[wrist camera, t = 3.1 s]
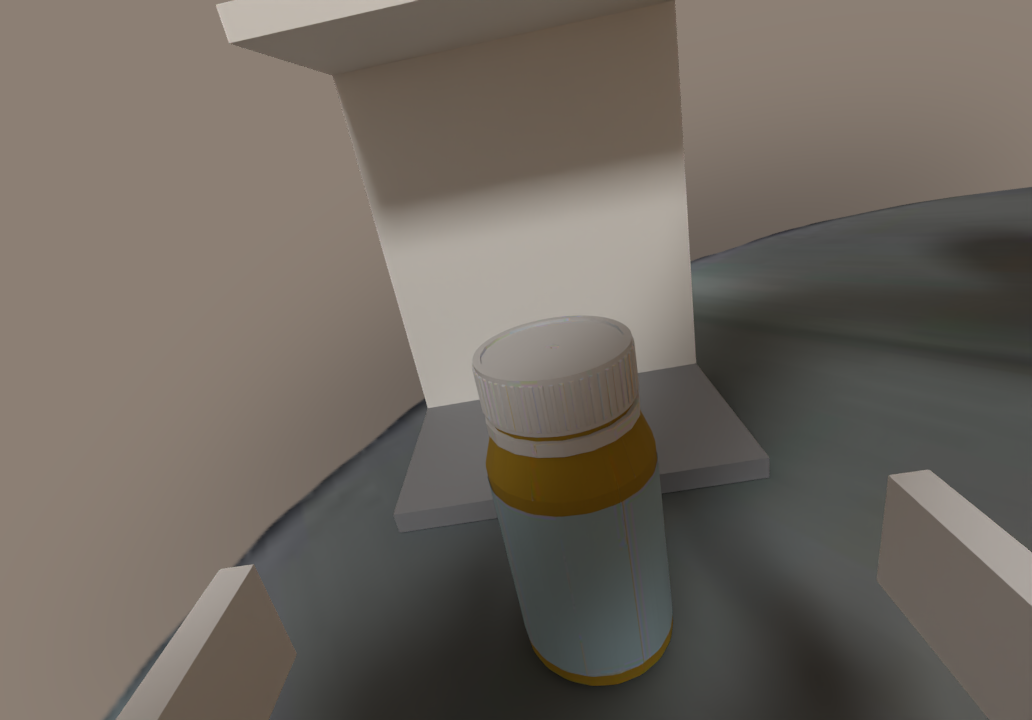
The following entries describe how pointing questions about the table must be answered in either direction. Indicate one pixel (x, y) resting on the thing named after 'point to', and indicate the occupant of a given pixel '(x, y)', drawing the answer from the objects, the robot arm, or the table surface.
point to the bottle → (577, 495)
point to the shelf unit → (518, 205)
